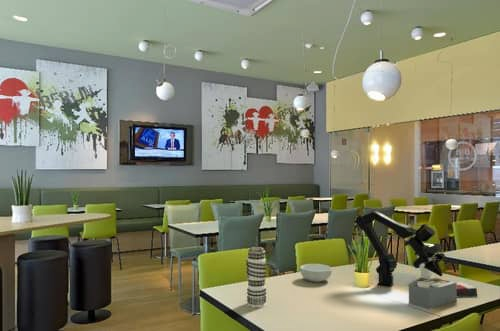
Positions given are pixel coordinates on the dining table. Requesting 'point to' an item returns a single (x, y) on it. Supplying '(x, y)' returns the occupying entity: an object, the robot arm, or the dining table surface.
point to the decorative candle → (256, 277)
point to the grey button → (423, 284)
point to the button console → (433, 293)
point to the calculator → (465, 289)
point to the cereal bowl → (316, 272)
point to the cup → (425, 272)
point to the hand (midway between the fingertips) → (441, 275)
